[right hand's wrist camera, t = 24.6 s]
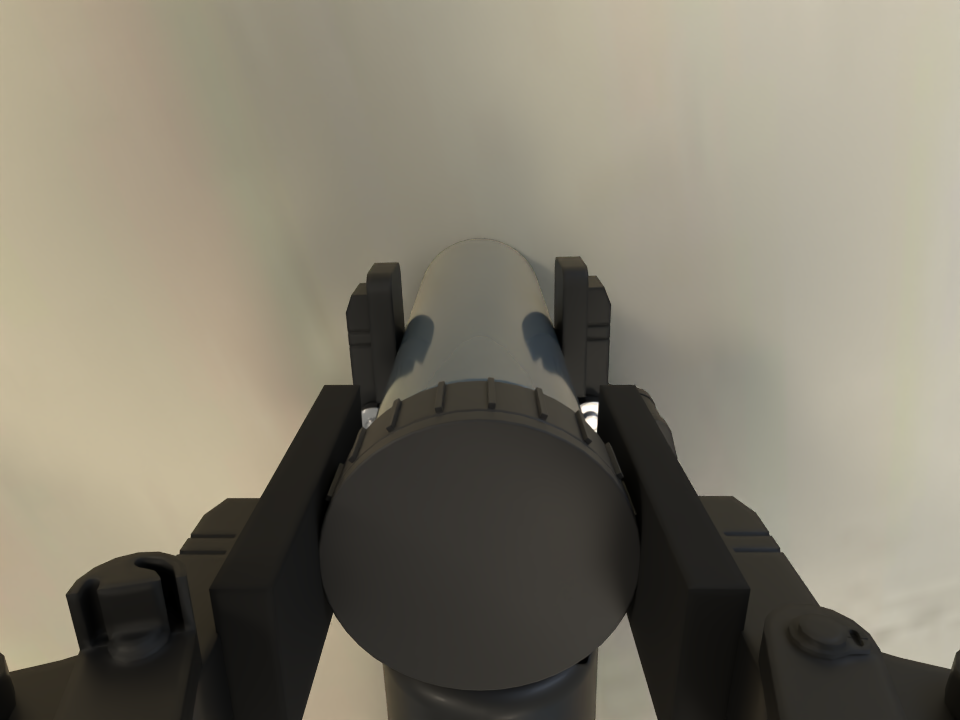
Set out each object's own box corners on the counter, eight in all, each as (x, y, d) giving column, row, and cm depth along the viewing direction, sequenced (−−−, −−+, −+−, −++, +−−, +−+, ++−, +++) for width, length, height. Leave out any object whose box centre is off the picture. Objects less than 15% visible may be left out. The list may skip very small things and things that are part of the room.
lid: (564, 330, 11) (578, 363, 10) (662, 575, 13) (687, 636, 11) (281, 442, 12) (252, 490, 10) (409, 660, 13) (400, 729, 12)
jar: (474, 212, 25) (466, 353, 10) (564, 293, 26) (673, 524, 11) (395, 303, 26) (288, 544, 12) (484, 376, 27) (490, 683, 13)
